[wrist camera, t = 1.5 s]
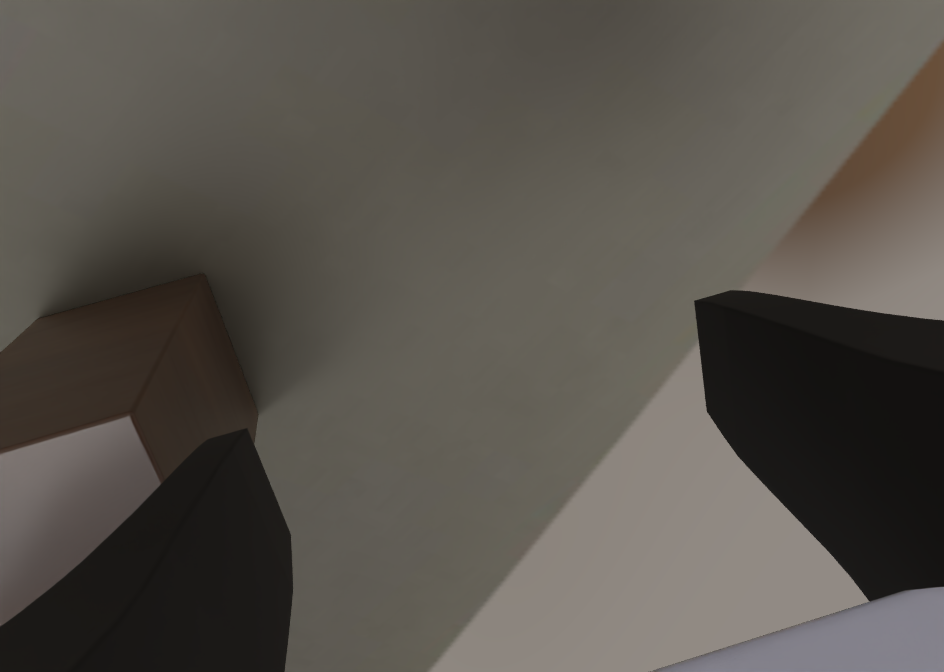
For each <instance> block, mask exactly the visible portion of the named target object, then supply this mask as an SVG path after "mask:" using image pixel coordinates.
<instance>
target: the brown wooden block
mask: <svg viewBox="0 0 944 672" xmlns="http://www.w3.org/2000/svg"><path fill="white" fill-rule="evenodd" d="M257 422H258V412H257V409H256V407H255V404H254V402H253V399H252V396H251V394H250V391H249V388H248V386H247V383H246V381H245V378H244V375H243V373H242V370H241V368H240V365H239V362H238V360H237V357H236V355H235V352H234V349H233V347H232V344H231V341H230V339H229V336H228V334H227V331H226V328H225V326H224V323H223V321H222V318H221V315H220V313H219V310H218V307H217V305H216V302H215V300H214V297H213V294H212V292H211V289H210V287H209V284H208V281H207V279H206V276H205V275H204V274H198V275H194V276H191V277H187V278H184V279H180V280H176V281H173V282H169V283H165V284H162V285H158V286H155V287H151V288H147V289H144V290H140V291H137V292H133V293H129V294H126V295H122V296H118V297H115V298H111V299H108V300H104V301H100V302H97V303H93V304H89V305H86V306H82V307H79V308H75V309H71V310H68V311H64V312H60V313H57V314H53V315H50V316H46V317H42V318H39V319H37V320H36V321H35V322H33V323H32V324H31V325H30V326H29V327H28V328H27V329H26V330H25V331H24V332H23V333H21V334H20V335H19V336H18V337H17V338H16V339H15V340H14V341H13V342H12V343H10V344H9V345H8V346H7V347H6V348H5V349H4V350H3V351H2V352H1V353H0V626H2V625H3V624H5V623H6V622H7V621H9V620H10V619H11V618H13V617H14V616H15V615H17V614H18V613H19V612H21V611H22V610H23V609H25V608H26V607H27V606H28V605H30V604H31V603H32V602H33V601H35V600H36V599H37V598H39V597H40V596H41V595H42V594H44V593H45V592H46V591H47V590H49V589H50V588H51V587H52V586H54V585H55V584H56V583H57V582H58V581H60V580H61V579H62V578H63V577H64V576H66V575H67V574H68V573H69V572H70V571H71V570H73V569H74V568H75V567H76V566H77V565H78V564H79V563H81V562H82V561H83V560H84V559H85V558H86V557H87V556H88V555H89V554H90V553H91V552H92V551H93V550H95V549H96V548H97V547H98V546H99V545H100V544H101V543H102V542H103V541H104V540H105V539H106V538H107V537H108V536H109V535H110V534H111V533H112V532H114V531H115V530H116V529H117V528H118V527H119V526H120V525H121V524H122V523H123V522H124V521H125V520H126V519H127V518H128V517H129V516H130V515H131V514H132V513H133V512H134V511H135V510H136V509H137V508H138V507H139V506H140V505H141V504H142V503H143V502H144V501H145V500H146V499H147V498H148V497H149V496H150V495H151V494H152V493H153V492H154V491H155V490H156V489H157V488H158V487H159V486H160V485H161V484H162V483H163V482H164V481H165V480H166V478H167V477H168V476H169V475H170V474H171V473H172V472H173V471H174V470H175V469H176V468H177V467H178V466H179V465H180V464H181V463H182V462H183V461H184V460H185V459H186V458H187V457H188V456H189V455H190V454H191V453H192V452H193V451H194V450H195V449H196V448H197V447H199V446H200V445H201V444H202V443H203V442H205V441H206V440H207V439H210V438H213V437H217V436H220V435H224V434H227V433H231V432H234V431H238V430H241V429H245V428H248V431H249V433H250V436H251V438H252V441H253V443H254V442H255V435H256V428H257Z"/></svg>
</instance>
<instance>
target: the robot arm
mask: <svg viewBox="0 0 944 672" xmlns="http://www.w3.org/2000/svg"><path fill="white" fill-rule="evenodd" d="M694 302H695V311H696V320H697V329H698V338H699V346H700V355H701V364H702V373H703V381H704V389H705V399H706V407H707V412H708V413H709V415H710V416H711V418H712V420H713V421H714V423H715V424H716V425H717V427H718V429H719V430H720V431H721V433H722V435H723V436H724V438H725V439H726V440H727V442H728V443H729V444H730V446H731V447H732V449H733V450H734V451H735V453H736V454H737V455H738V457H739V458H740V459H741V460H742V461H743V462H744V463H745V464H746V466H747V467H748V468H749V469H750V470H751V471H752V472H753V473H754V474H755V475H756V476H757V477H758V478H759V479H760V480H761V482H762V483H763V484H764V485H765V486H766V487H767V488H768V489H769V490H770V491H771V492H772V493H773V494H774V495H775V496H776V497H777V498H778V499H779V500H780V502H781V503H783V505H784V506H785V507H786V508H787V509H788V510H789V511H790V512H791V513H792V514H793V515H794V516H795V517H796V518H797V519H798V520H799V521H800V522H801V523H802V524H803V525H804V527H805V528H806V529H808V531H809V532H810V533H811V534H812V535H813V536H814V537H815V538H816V539H817V540H818V541H819V542H820V543H821V544H822V545H823V546H824V547H825V548H826V549H827V551H829V553H830V554H831V555H832V556H833V557H834V558H835V559H836V561H838V563H839V564H840V565H841V566H842V567H843V569H844V570H845V571H846V572H847V573H848V574H849V575H850V577H851V578H852V579H853V580H854V582H855V583H856V584H857V586H858V587H859V588H860V590H861V591H862V592H863V594H864V595H865V596H866V597H867V599H868V600H869V601H870V602H867V603H864V604H861V605H858V606H855V607H852V608H848V609H845V610H842V611H839V612H836V613H833V614H830V615H826V616H823V617H820V618H817V619H814V620H811V621H807V622H804V623H801V624H798V625H795V626H792V627H789V628H786V629H782V630H780V631H776V632H773V633H770V634H767V635H763V636H760V637H757V638H754V639H751V640H748V641H745V642H742V643H739V644H736V645H732V646H729V647H726V648H723V649H719V650H716V651H713V652H710V653H707V654H704V655H701V656H698V657H695V658H691V659H688V660H685V661H682V662H679V663H675V664H672V665H669V666H666V667H663V668H660V669H657V670H653V671H650V672H944V321H942V320H932V319H923V318H914V317H907V316H899V315H892V314H884V313H877V312H871V311H864V310H858V309H852V308H846V307H840V306H834V305H829V304H823V303H817V302H812V301H806V300H801V299H795V298H789V297H783V296H778V295H772V294H765V293H759V292H751V291H734V290H731V291H727V292H724V293H720V294H717V295H713V296H709V297H706V298H702V299H699V300H695V301H694ZM292 595H293V574H292V551H291V534H290V531H289V529H288V527H287V524H286V522H285V519H284V517H283V514H282V512H281V509H280V507H279V504H278V502H277V500H276V497H275V495H274V492H273V490H272V487H271V485H270V482H269V480H268V477H267V475H266V473H265V470H264V468H263V465H262V463H261V460H260V458H259V455H258V453H257V450H256V448H255V446H254V443H253V441H252V438H251V436H250V433H249V431H248V428H245V429H241V430H238V431H234V432H231V433H227V434H224V435H220V436H217V437H213V438H210V439H207V440H206V441H205V442H203V443H202V444H201V445H200V446H199V447H197V448H196V449H195V450H194V451H193V452H192V453H191V454H190V455H189V456H188V457H187V458H186V459H185V460H184V461H183V462H182V463H181V464H180V465H179V466H178V467H177V468H176V469H175V470H174V471H173V472H172V473H171V474H170V475H169V476H168V477H167V478H166V480H165V481H164V482H163V483H162V484H161V485H160V486H159V487H158V488H157V489H156V490H155V491H154V492H153V493H152V494H151V495H150V496H149V497H148V498H147V499H146V500H145V501H144V502H143V503H142V504H141V505H140V506H139V507H138V508H137V509H136V510H135V511H134V512H133V513H132V514H131V515H130V516H129V517H128V518H127V519H126V520H125V521H124V522H123V523H122V524H121V525H120V526H119V527H118V528H117V529H116V530H115V531H114V532H112V533H111V534H110V535H109V536H108V537H107V538H106V539H105V540H104V541H103V542H102V543H101V544H100V545H99V546H98V547H97V548H96V549H95V550H93V551H92V552H91V553H90V554H89V555H88V556H87V557H86V558H85V559H84V560H83V561H82V562H81V563H79V564H78V565H77V566H76V567H75V568H74V569H73V570H71V571H70V572H69V573H68V574H67V575H66V576H64V577H63V578H62V579H61V580H60V581H58V582H57V583H56V584H55V585H54V586H52V587H51V588H50V589H49V590H47V591H46V592H45V593H44V594H42V595H41V596H40V597H39V598H37V599H36V600H35V601H33V602H32V603H31V604H30V605H28V606H27V607H26V608H25V609H23V610H22V611H21V612H19V613H18V614H17V615H15V616H14V617H13V618H11V619H10V620H9V621H7V622H6V623H5V624H3V625H2V626H0V672H285V663H286V654H287V645H288V635H289V626H290V616H291V606H292Z"/></svg>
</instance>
